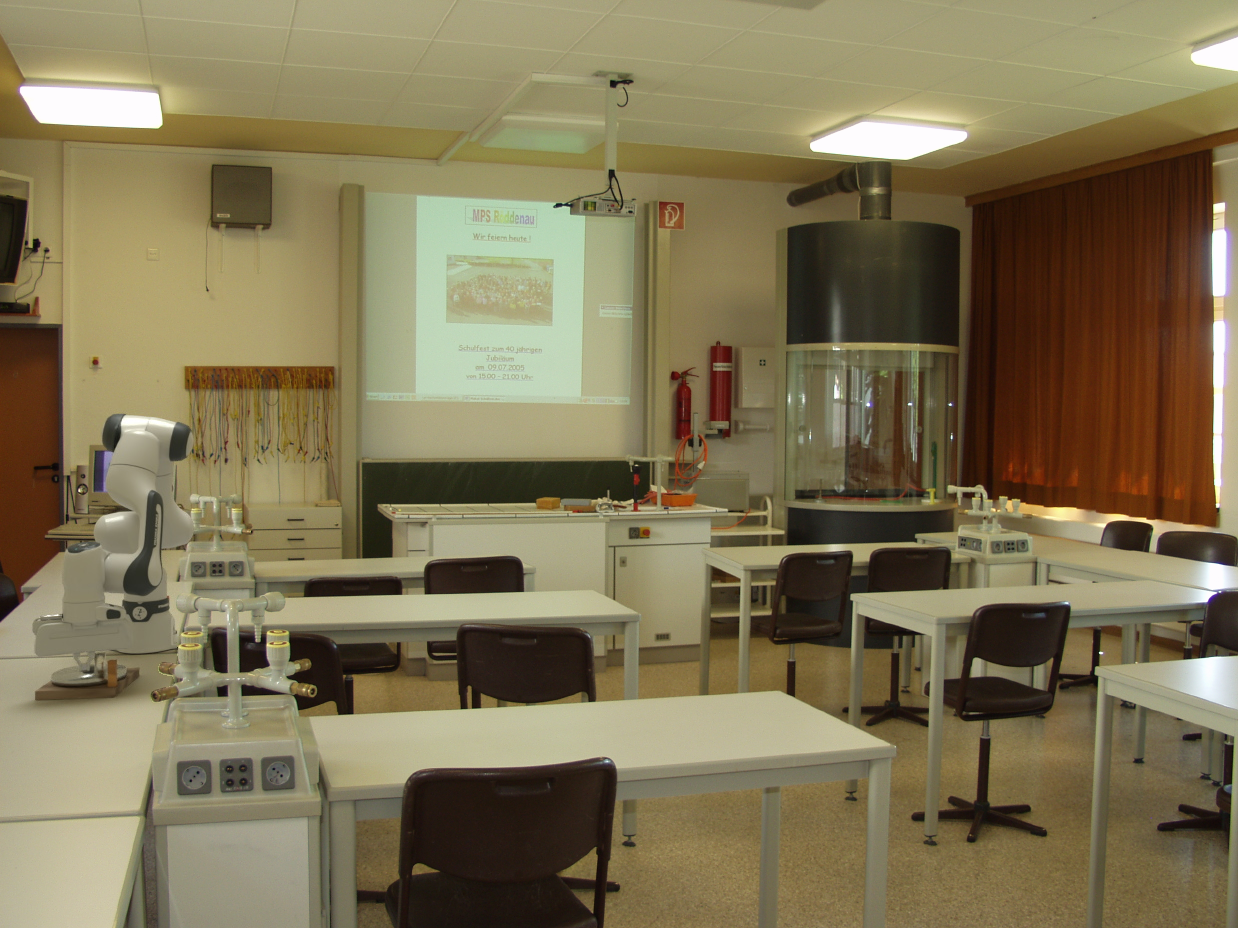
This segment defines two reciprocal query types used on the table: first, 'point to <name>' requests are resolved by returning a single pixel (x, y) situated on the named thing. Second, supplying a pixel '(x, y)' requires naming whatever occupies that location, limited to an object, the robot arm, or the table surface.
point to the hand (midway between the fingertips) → (84, 671)
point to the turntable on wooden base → (90, 691)
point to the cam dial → (87, 673)
